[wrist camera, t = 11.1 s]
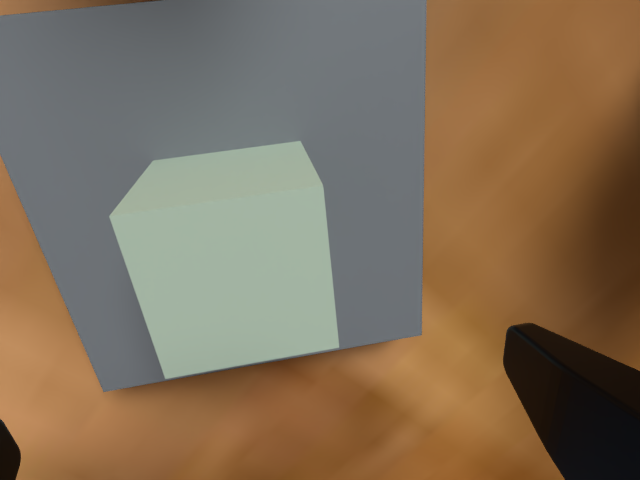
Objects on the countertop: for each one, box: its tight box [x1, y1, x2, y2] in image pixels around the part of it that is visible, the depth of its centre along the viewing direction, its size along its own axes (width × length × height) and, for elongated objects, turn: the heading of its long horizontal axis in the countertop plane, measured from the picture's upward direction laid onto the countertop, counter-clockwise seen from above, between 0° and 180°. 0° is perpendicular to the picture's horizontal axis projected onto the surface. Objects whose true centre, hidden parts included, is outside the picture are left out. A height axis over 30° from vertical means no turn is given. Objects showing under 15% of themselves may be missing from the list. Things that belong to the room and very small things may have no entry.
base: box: [0, 0, 426, 392], centre depth 17 cm, size 14×14×3 cm
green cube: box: [109, 141, 339, 379], centre depth 13 cm, size 5×5×5 cm
